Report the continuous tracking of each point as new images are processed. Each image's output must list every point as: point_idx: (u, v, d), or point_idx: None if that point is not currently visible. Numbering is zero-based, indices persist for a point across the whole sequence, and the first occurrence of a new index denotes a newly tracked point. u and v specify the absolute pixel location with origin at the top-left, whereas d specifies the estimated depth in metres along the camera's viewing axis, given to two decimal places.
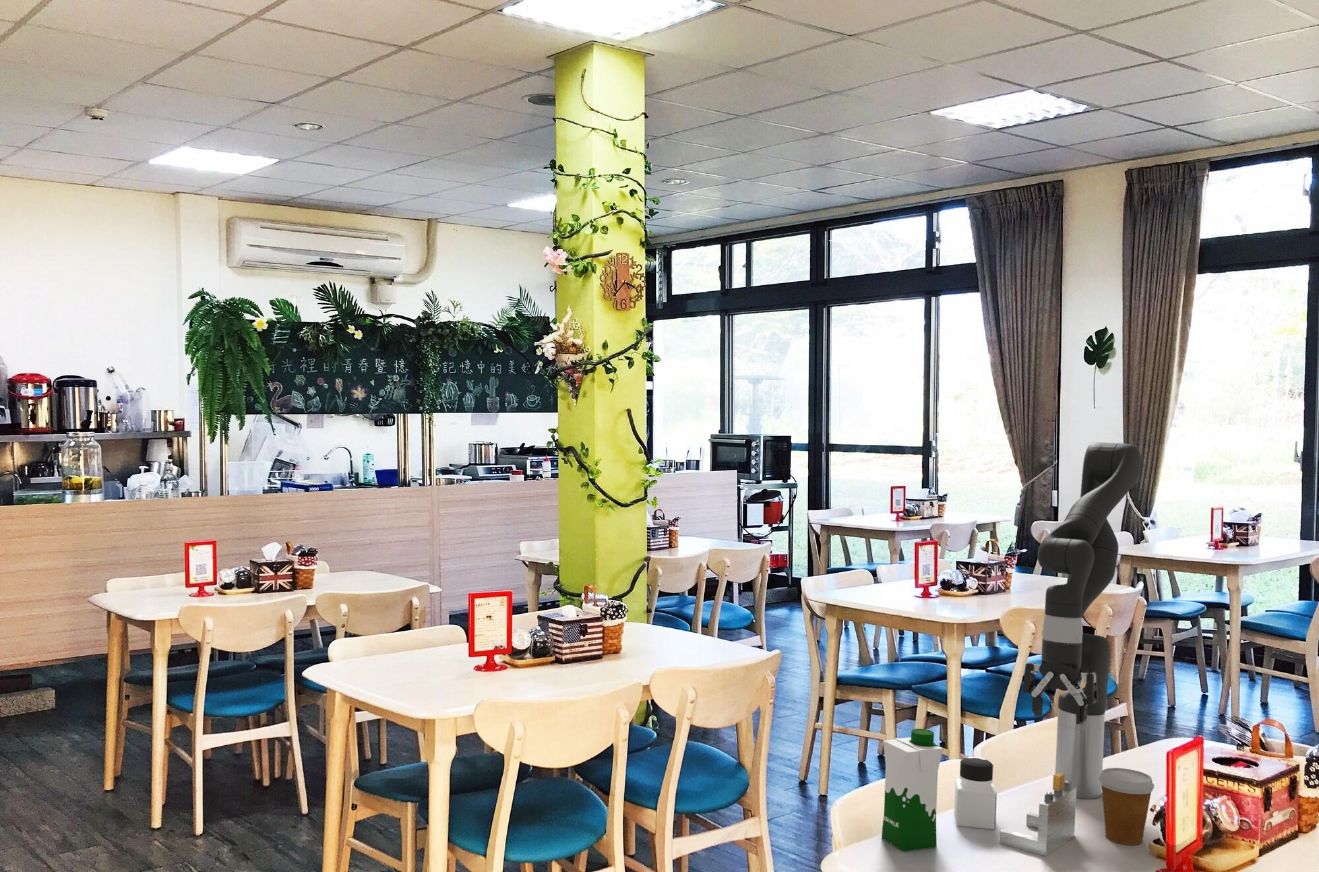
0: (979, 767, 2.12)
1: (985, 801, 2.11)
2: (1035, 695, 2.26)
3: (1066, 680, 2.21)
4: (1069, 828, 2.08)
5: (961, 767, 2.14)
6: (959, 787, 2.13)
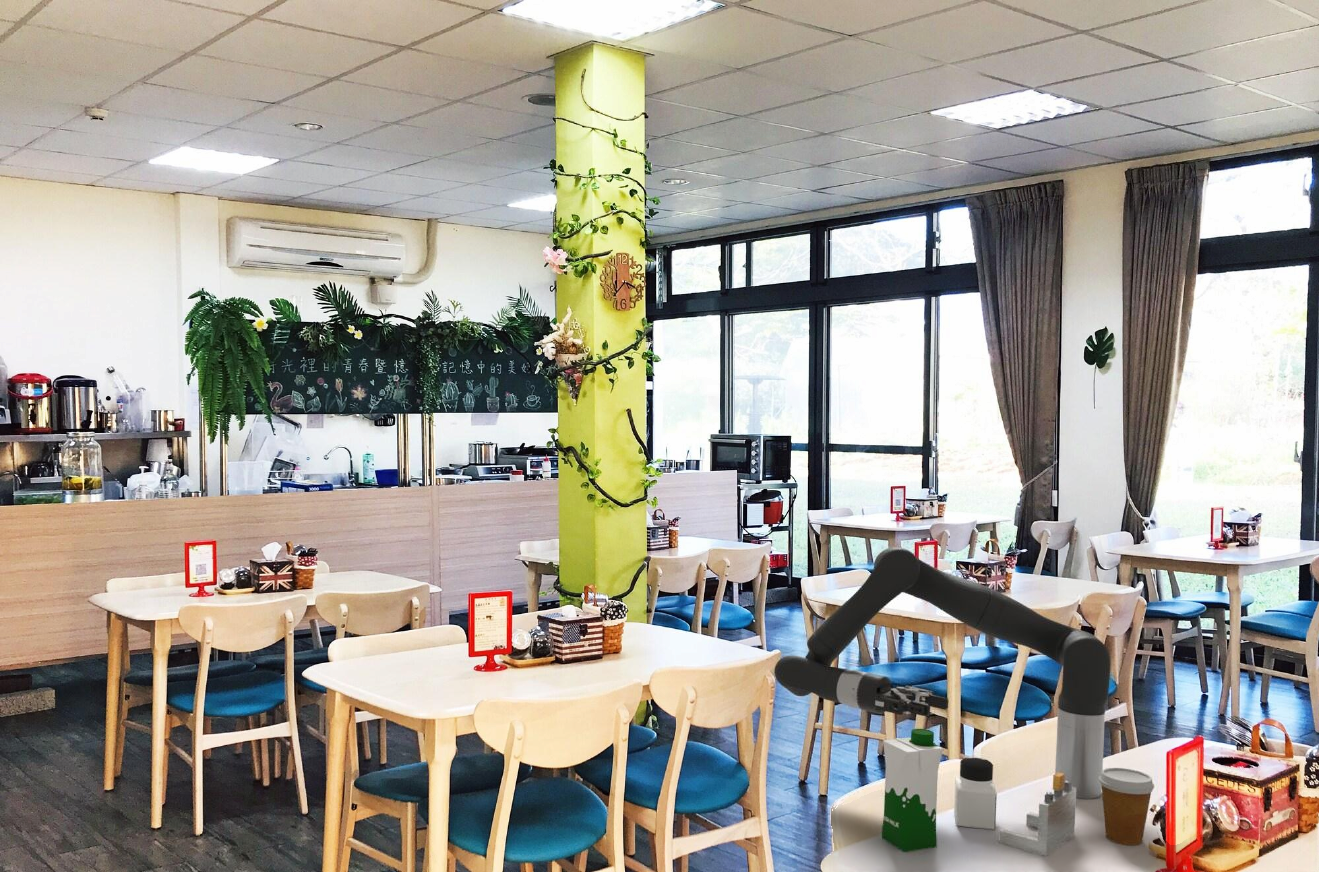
0: (979, 767, 2.12)
1: (985, 801, 2.11)
2: None
3: None
4: (1069, 828, 2.08)
5: (961, 767, 2.14)
6: (959, 787, 2.13)
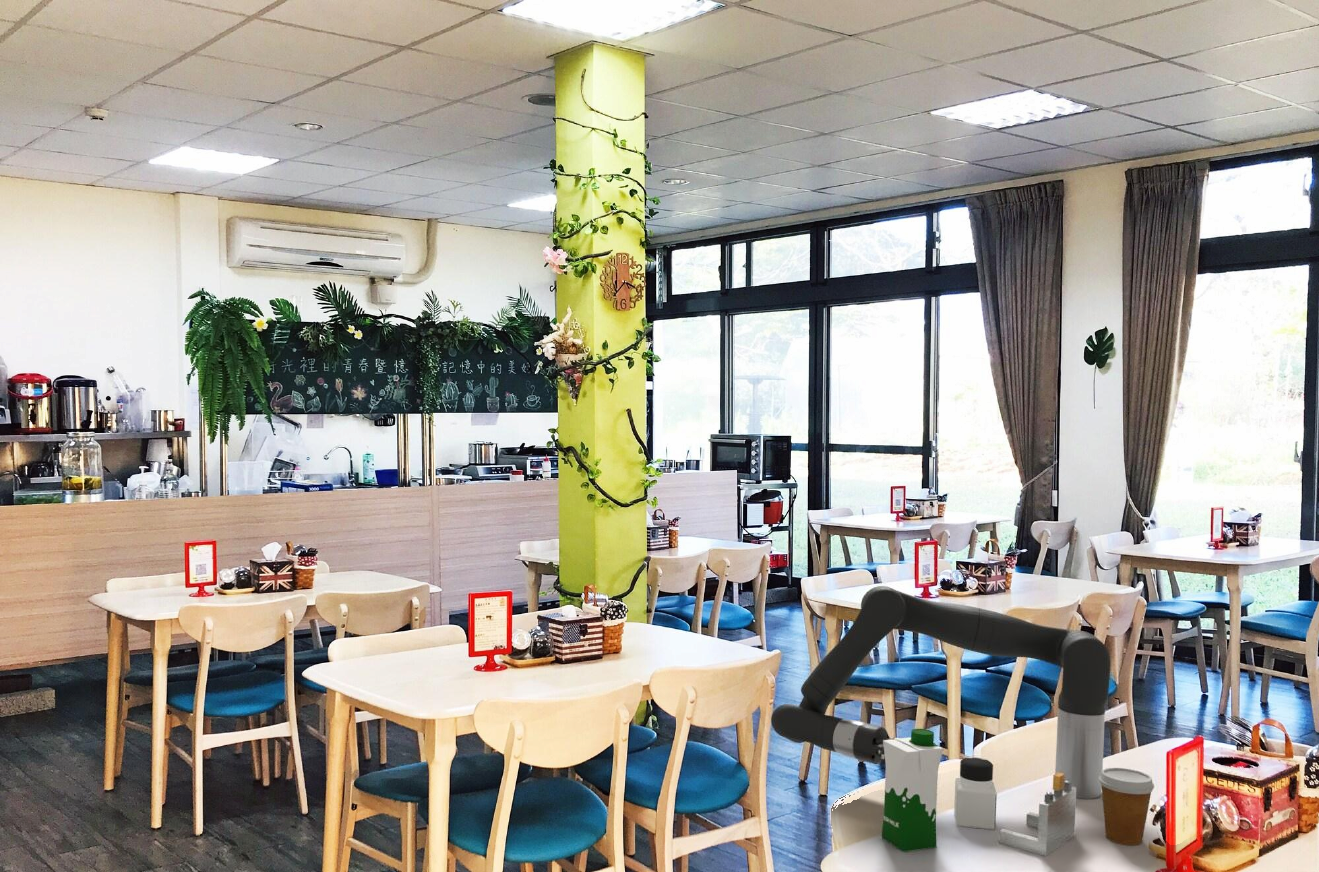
0: (979, 767, 2.12)
1: (985, 801, 2.11)
2: None
3: None
4: (1069, 828, 2.08)
5: (961, 767, 2.14)
6: (959, 787, 2.13)
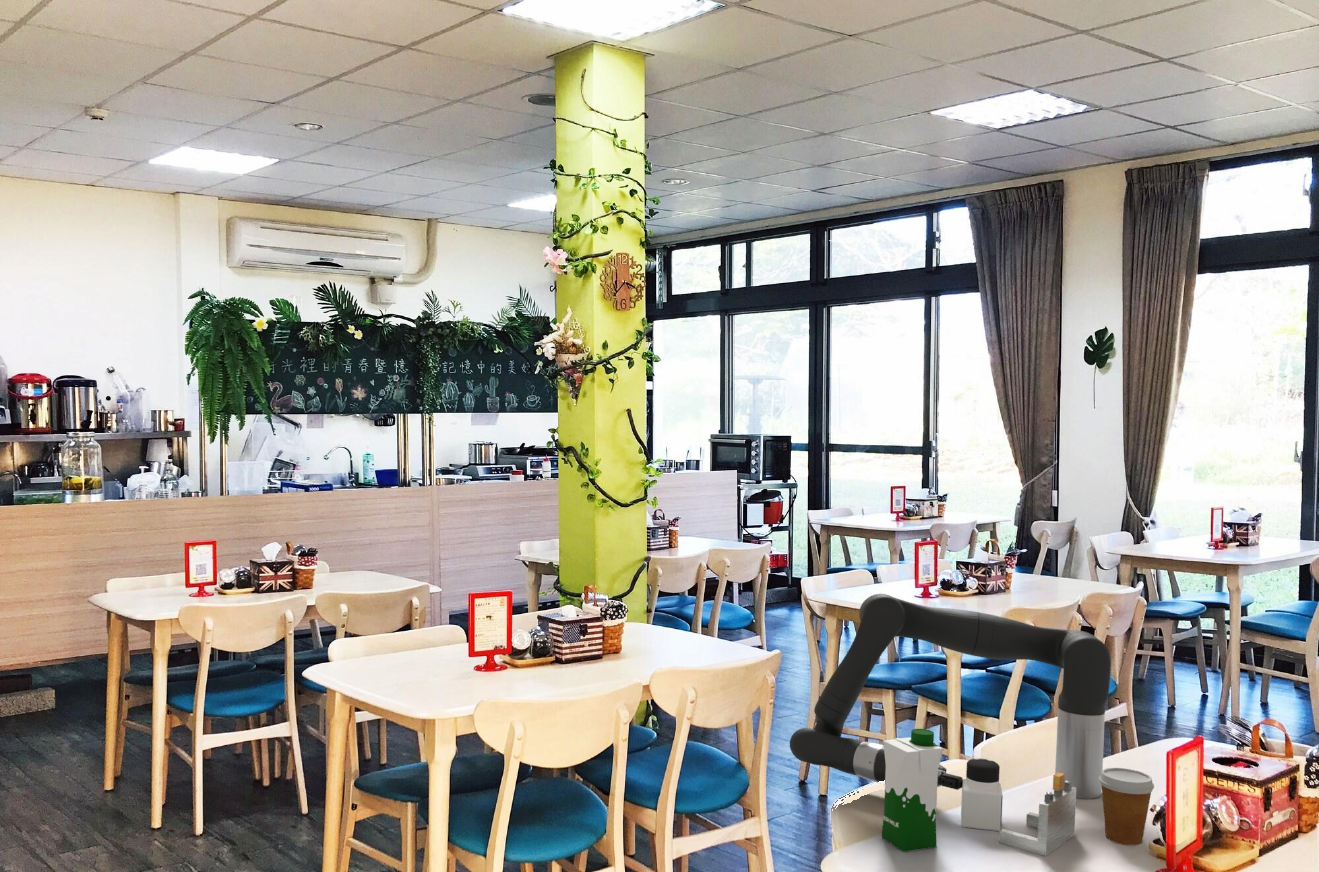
0: (985, 768, 2.11)
1: (991, 803, 2.10)
2: None
3: None
4: (1069, 828, 2.08)
5: (967, 768, 2.14)
6: (965, 788, 2.12)
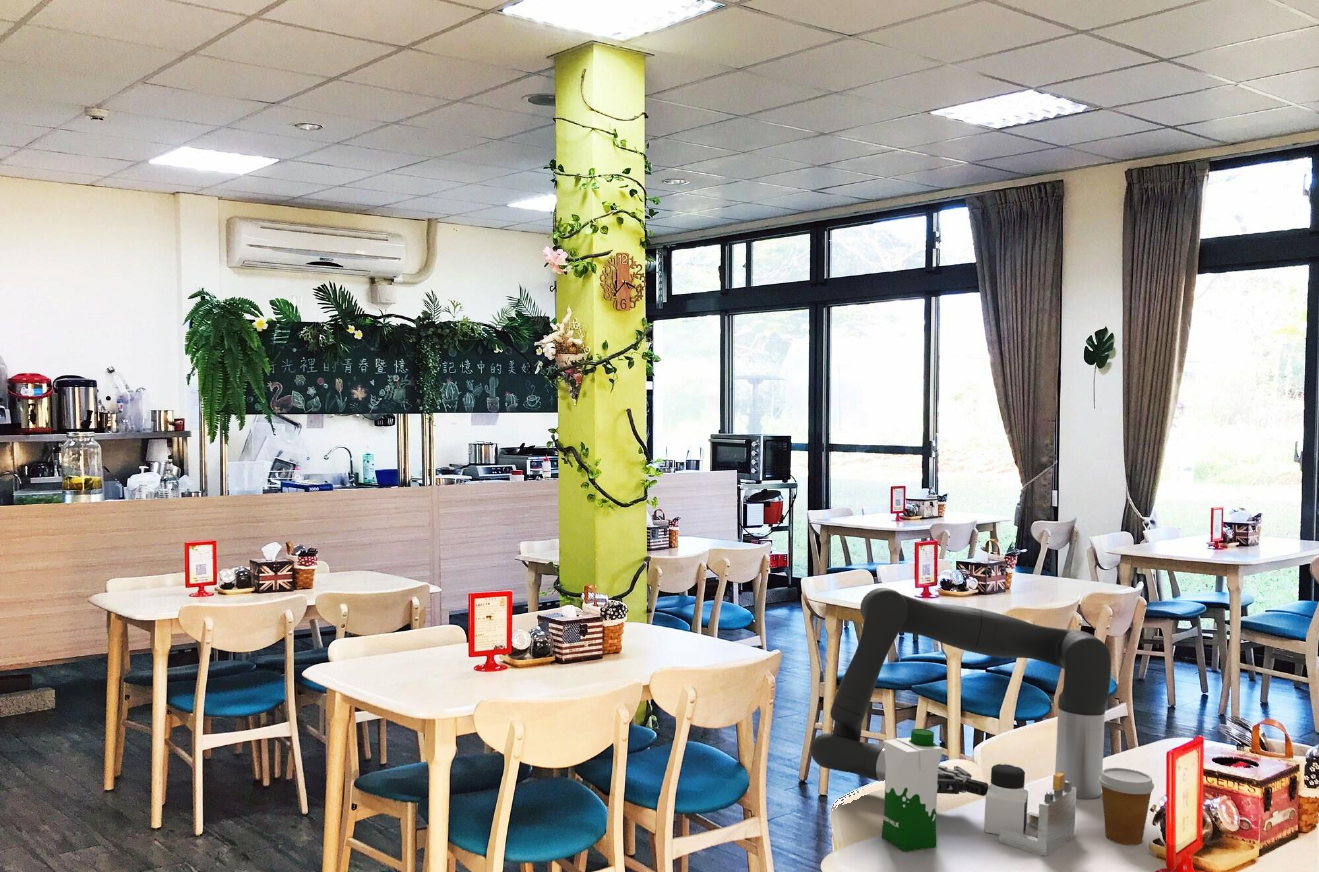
0: (1008, 774, 2.08)
1: (1014, 809, 2.07)
2: None
3: None
4: (1069, 828, 2.08)
5: (991, 773, 2.11)
6: (988, 793, 2.10)
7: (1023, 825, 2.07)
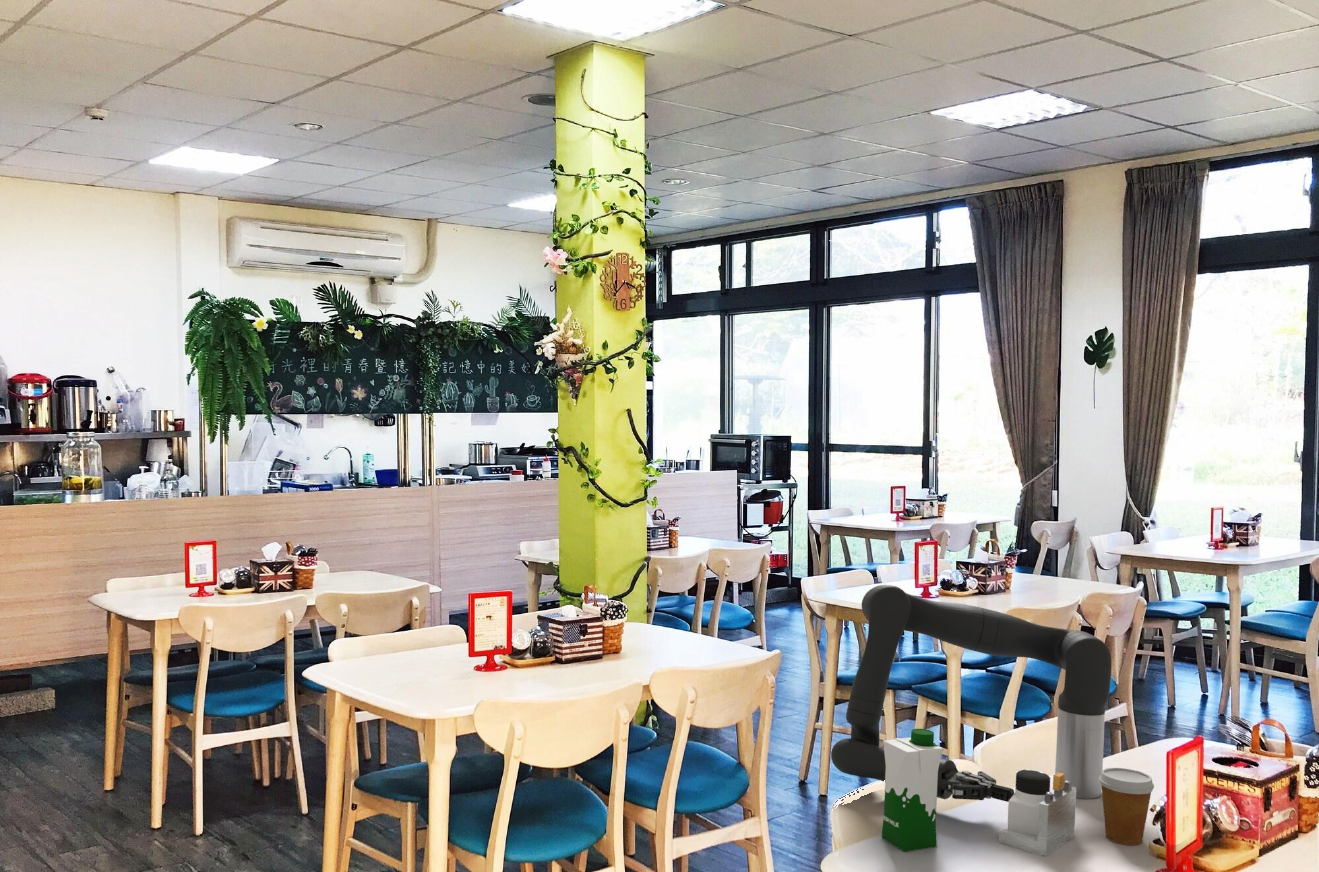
0: (1031, 779, 2.05)
1: (1036, 815, 2.04)
2: None
3: None
4: (1069, 828, 2.08)
5: (1016, 778, 2.09)
6: (1011, 798, 2.07)
7: None
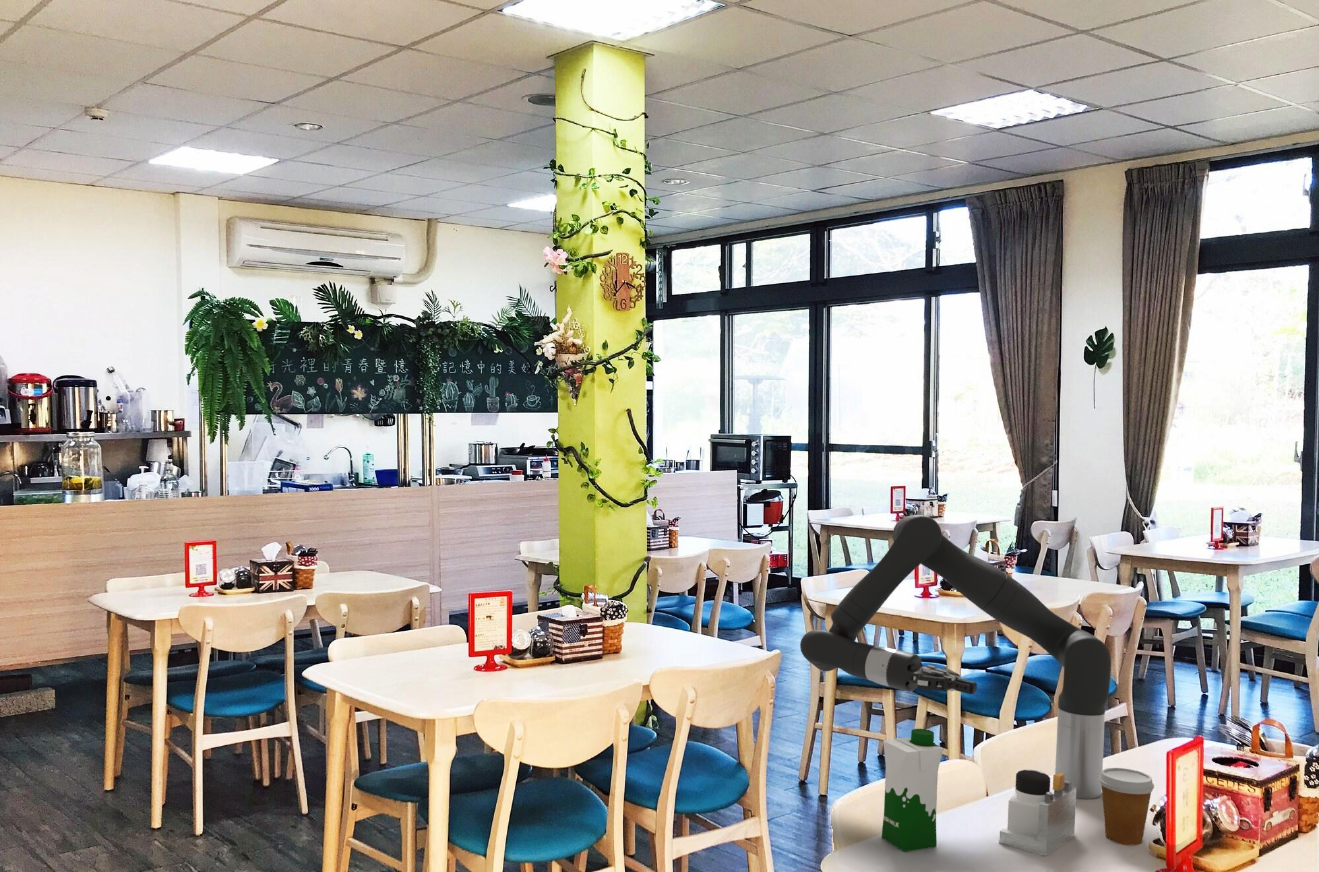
0: (1031, 780, 2.05)
1: (1036, 816, 2.04)
2: None
3: None
4: (1069, 828, 2.08)
5: (1016, 778, 2.09)
6: (1011, 799, 2.07)
7: None
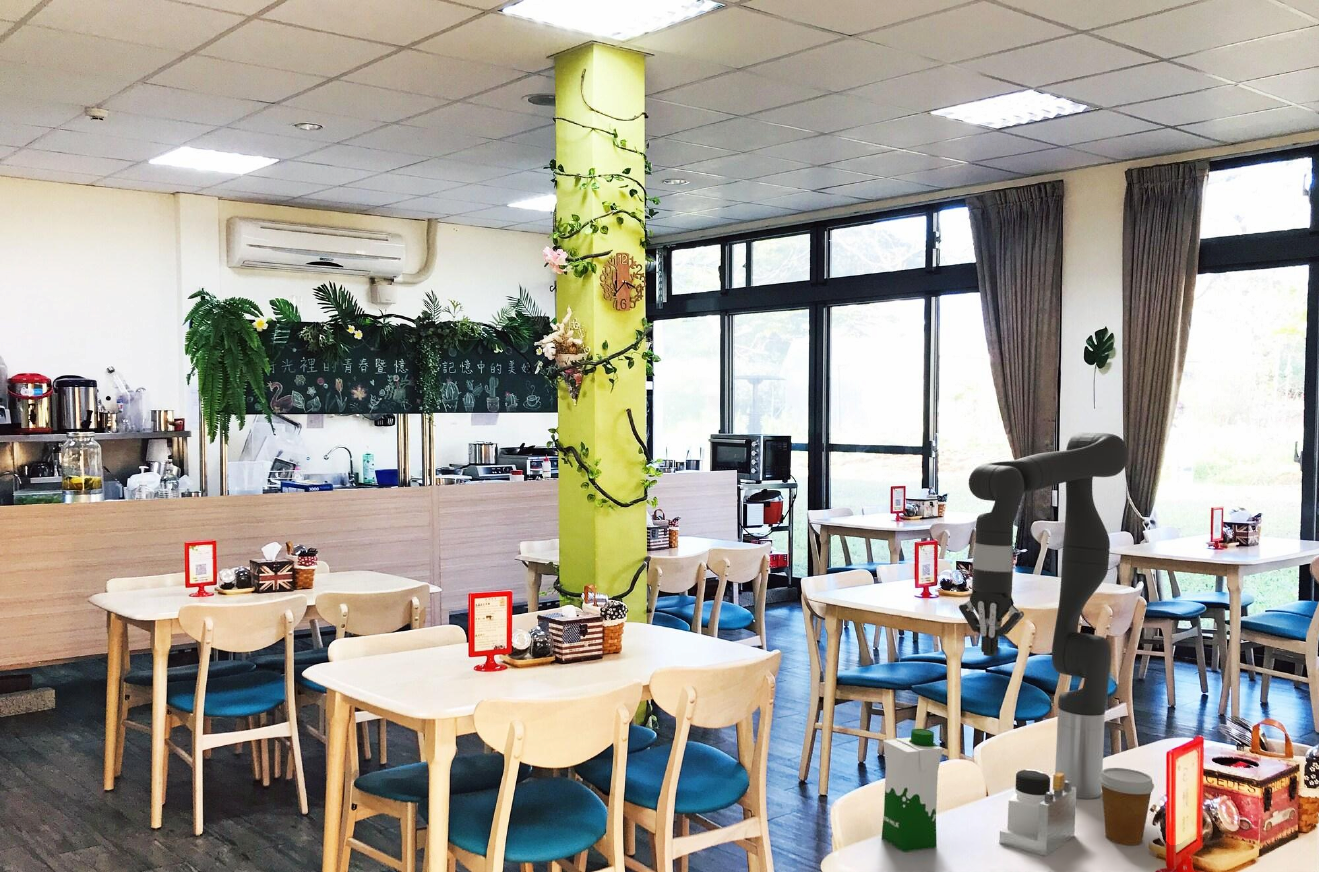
0: (1031, 780, 2.05)
1: (1036, 816, 2.04)
2: (985, 633, 2.19)
3: (994, 610, 2.17)
4: (1069, 828, 2.08)
5: (1016, 778, 2.09)
6: (1011, 799, 2.07)
7: None
